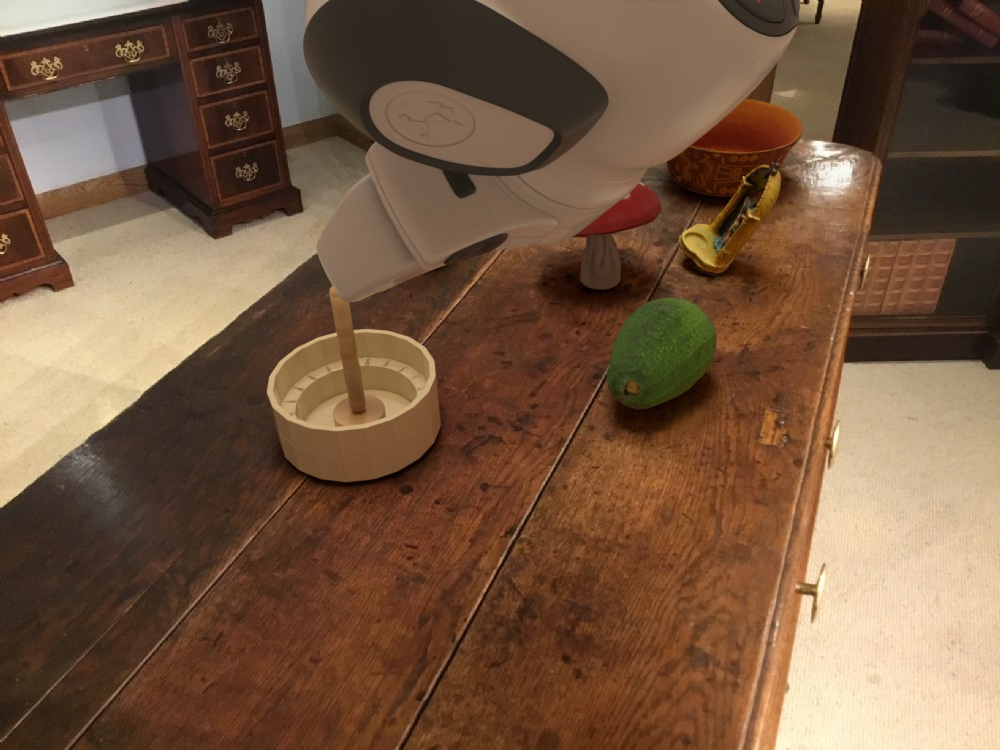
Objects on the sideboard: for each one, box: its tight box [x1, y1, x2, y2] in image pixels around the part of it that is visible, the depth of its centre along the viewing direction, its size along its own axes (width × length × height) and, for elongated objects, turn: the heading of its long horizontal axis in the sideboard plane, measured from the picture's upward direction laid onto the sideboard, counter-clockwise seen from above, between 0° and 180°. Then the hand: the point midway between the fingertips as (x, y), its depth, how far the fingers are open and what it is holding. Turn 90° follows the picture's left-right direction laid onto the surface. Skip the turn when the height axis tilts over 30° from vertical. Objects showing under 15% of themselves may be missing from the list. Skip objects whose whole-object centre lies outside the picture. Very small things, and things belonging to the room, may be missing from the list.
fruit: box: [606, 297, 717, 410], centre depth 87 cm, size 15×10×10 cm, turn 142°
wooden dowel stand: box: [328, 285, 386, 427], centre depth 82 cm, size 5×5×17 cm
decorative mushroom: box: [572, 181, 663, 291], centre depth 105 cm, size 16×16×15 cm
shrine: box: [678, 162, 782, 277], centre depth 107 cm, size 12×8×15 cm
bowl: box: [666, 98, 804, 198], centre depth 128 cm, size 21×21×10 cm
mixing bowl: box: [266, 328, 442, 483], centre depth 85 cm, size 16×16×7 cm
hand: (442, 253), depth 56 cm, fingers open, 8 cm apart
